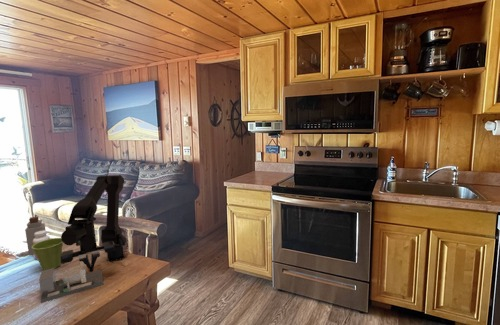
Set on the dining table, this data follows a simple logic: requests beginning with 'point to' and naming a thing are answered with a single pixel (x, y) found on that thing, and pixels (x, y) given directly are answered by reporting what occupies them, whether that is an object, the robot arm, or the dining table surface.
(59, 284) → the charcoal cuboid
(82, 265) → the block with end plate
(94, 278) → the gauge bench
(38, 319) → the dining table surface
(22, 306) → the dining table surface
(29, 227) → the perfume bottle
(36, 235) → the supplement bottle
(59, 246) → the plant pot
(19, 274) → the dining table surface
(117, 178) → the robot arm
